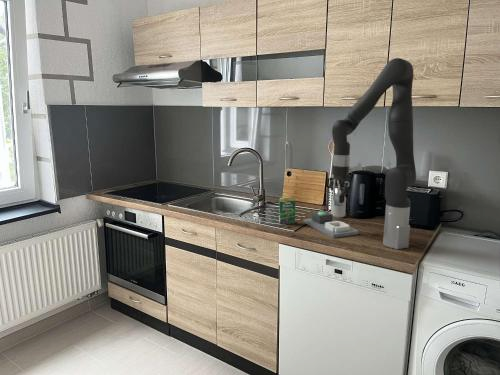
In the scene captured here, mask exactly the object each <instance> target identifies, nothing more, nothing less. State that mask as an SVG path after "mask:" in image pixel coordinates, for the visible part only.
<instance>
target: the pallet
mask: <svg viewBox="0 0 500 375" xmlns="http://www.w3.org/2000/svg"><path fill="white" fill-rule="evenodd" d="M318 212H326V213H327V214H325V215H320V214H318ZM333 218H334V217H333V214H331V212H328V211H326V210H321V211H320V210H319V211H318V210H317V211H312V212H311V218H304V219H303V223H304V222H305V223H304V224H306V225H308V226H310V227H312V228H314V229H315V230H318V231H320V232H322V233H323V234H325V235H327V236H328V237H331V238H333V239H335V238H342V237H350V236H354V235H355V236H357V235H359V234H360V231H359V230H358V229H356V228H353V227H351V226H350V224H349V223H346V222H343V221H339V220H335V219H333Z"/></svg>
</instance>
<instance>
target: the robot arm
mask: <svg viewBox="0 0 500 375" xmlns="http://www.w3.org/2000/svg"><path fill="white" fill-rule="evenodd" d="M413 81H414V66H413V65H412V63H411V62H410V61H409V60H406V59H403V58H400V57H397V58H392V59H390V60H389V61H388V62H387V63H386V64H385V65H384V67H383V69H381V71H380V72H379V75H378V76H377V77H376V79H375V80H374V81H373V82H372V84H371V85H370V86H369V88H368V89H367V90H366V91H365V93H364V94H363V95H362V96H361V97H360V98H359V99H358V100H356V102H355V103H354V104H353V105H352V106H351V107H350V108H349V110H348V111H347V113H348V115H346V117H345V118H344V119H338V120H336V121H334V123H333V125H332V127H331V128H332V129H331V135H332V136H331V137H332V142H333V155H332V156H333V157H332V165H331V175H333V177H328V178H329V187H330V191H332V192H333V193H332V196H333V200H334V196H335V188H337V187H338V189H339V192H340V196H339V203H344V198H345V197H346V195H348V194H349V191H350V188H351V185H352V182H351V181H348V178H347V177H348V176H350V161H351V158H350V155H351V154H350V151H351V144H350V142H349V141H348V136H349V135H351V134H352V133H353V132H354V131H355V130H356V128H357V127H358V126H359V124H360V123H361V122H362V121H363V120H364V119H365V118H366V117H367V116H368V115H369V114H370V113H371V112H372V111H373V109H374V108H375V106H377V104H378V102H379V100H380V99H381V98H382V96H383V95H384V94H385V93H386V92H387V91H388V90H389V89H390V88H391V87H392V101H391V105H390V109H389V113H388V116H387V117H388V119H387V122H388V125H387V127H388V131H387V132H388V137H389V139H390V142H391V144H392V147H393V150H394V152H395V158H396V159H395V161H396V162H395V167H391V168H390V169H388V171H387V172H386V175H385V180H384V198H385V202H386V203H385V213H384V226H383V237H382V238H383V239H382V244H383V246H385V247H387V248H391V249H395V250H402V249H408V248H409V244H410V233H411V225H410V223H409V222H410V212H411V199H410V198H408V197H407V196H408V192H407V191H408V190H407V189H409V188H411V187H412V186H414V185H415V183H416V179H417V170H416V169H417V168H416V165H415V164H416V163H415V162H416V161H415V155H414V154H415V153H414V115H413V114H414V113H413V96H412V94H413ZM341 187H342V188H341ZM342 190H343V191H342Z"/></svg>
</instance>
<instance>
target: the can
mask: <svg viewBox="0 0 500 375" xmlns="http://www.w3.org/2000/svg"><path fill="white" fill-rule="evenodd" d="M346 204H347V197H346V196H345V198H344V203H343V206H335V205H334V200H333V195H332V196H331V204H330V205H331V208H330V213H331V214H333V218H338V219H339V218H344V217H345V216H346V207H347V206H346Z"/></svg>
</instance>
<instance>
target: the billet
mask: <svg viewBox="0 0 500 375" xmlns="http://www.w3.org/2000/svg"><path fill="white" fill-rule="evenodd" d="M341 188H343V187H341ZM342 191H343V190H342ZM339 196H340V192H339V189H338V187H337V188H335V196H334V205H335V206H343V203H339Z"/></svg>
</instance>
